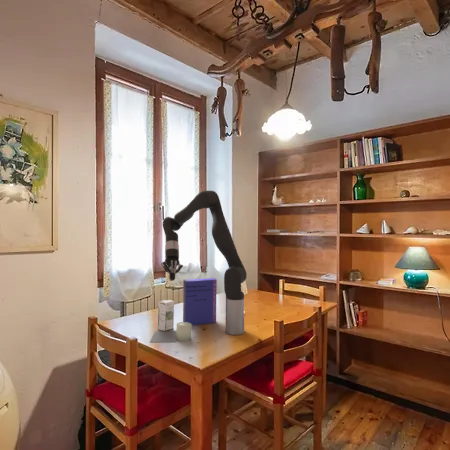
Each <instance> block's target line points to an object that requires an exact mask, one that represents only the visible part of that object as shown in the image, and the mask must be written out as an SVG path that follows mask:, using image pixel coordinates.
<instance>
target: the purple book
mask: <svg viewBox="0 0 450 450" xmlns="http://www.w3.org/2000/svg"><path fill="white" fill-rule="evenodd" d="M182 282H183V283H182V285H183V287H182V290H183V292H182V293H183V294H182V296H183V297H182V298H183V299H182V322H188V323H191V324H192V326H198V325H207V324H209V325H210V324H216V323H217V287H218V286H217V285H218V284H217V283H218V282H217V279H216V278H213V277H211V278H192V279H183V281H182Z"/></svg>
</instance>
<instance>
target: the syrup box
mask: <svg viewBox="0 0 450 450" xmlns="http://www.w3.org/2000/svg"><path fill="white" fill-rule="evenodd" d="M174 315H175V301H174V300H171V299H165V300H159V301H158V311H157V329H158V330H159V331H172V330H174V319H175V318H174V317H175V316H174Z"/></svg>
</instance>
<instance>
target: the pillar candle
mask: <svg viewBox="0 0 450 450" xmlns="http://www.w3.org/2000/svg"><path fill="white" fill-rule="evenodd" d="M192 326H193V325H192V324H191V323H188V322H183V321H178V322H177V323H176V330H175V331H176V340H177V341H178V342H183V343H184V342H188V341H190V340H191V337H192Z"/></svg>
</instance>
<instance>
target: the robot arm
mask: <svg viewBox="0 0 450 450" xmlns="http://www.w3.org/2000/svg"><path fill="white" fill-rule="evenodd" d="M222 208H223V207H222V204H221V200H220V197H219V195H218V193H217V192H216V191H215V190H201V191H200V192H198V193H197V194H196V195H195V196H194V198H192V199H191V200H190V202H189V203H187V204H186V205H185V206H184V207H183V208H182V209H180V210H179V211H177V212H176V213H175V214H174V217H171V216H165V218H163V220H162V228H163V233H164V235H165V247H164V248H165V249H164V253H165V254H164V255H165V257H164V258H165V259H164V261H163V262H161V263H160V265H161V267H162V269H164V271H165V273H168V274H169V275H168V276H169V277H168V278H169V280H170V281H171V282H173V281H175V280H176V274H178V273H179V272H180V271H181V270H182V268H183V266H184V265H183V264H181V263H180V246H179V235H178V233H177V232H176V231H179V230H180V229H181V228H182V227H183V226H184V224H185V223H187V222H188V221H189V220H191V218H193V217H194V215H195V213H196V212H198V211H200V210H202V209H209V212H210V214H211V217H212V223H211V236H212V238H213V240H214V244H215V246H216V248H217V249H218V251H219V252H220V253H221V254H222V255H223V257H224V258H225V261H226V263H227V266H228V268H227V269H226V270H225V272H224V273H223V274H224V276H223V285H224V287H223V288H224V294H225V334H227V335H233V336H236V335H237V336H238V335H244V334H245V293H244V292H243V291H242V284H243V283H244V282H245V281H246V280H247V277H248V276H247V271H246V268H245V266H244V265H243V262H242V260H241V258H240V256H239V253H238V251H237V248H236V245H235V242H234V240H233V237H232V233H231V231H230V228H229V226H228V223H227V220H226V218H225V215H224V212H223V209H222Z"/></svg>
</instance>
